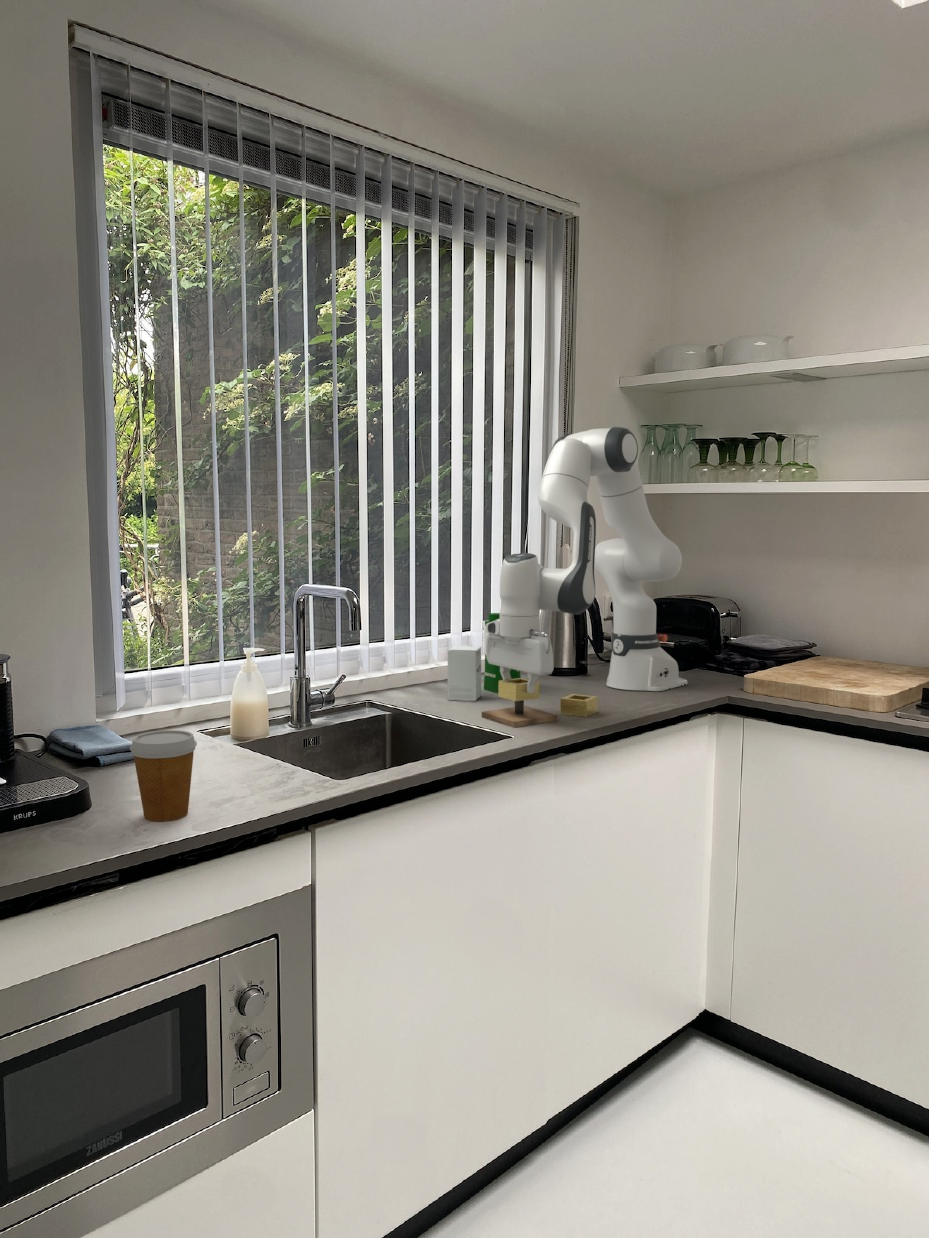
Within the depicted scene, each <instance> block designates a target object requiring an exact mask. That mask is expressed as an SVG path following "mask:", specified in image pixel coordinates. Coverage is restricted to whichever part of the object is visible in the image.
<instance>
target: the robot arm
mask: <svg viewBox="0 0 929 1238" xmlns="http://www.w3.org/2000/svg"><path fill="white" fill-rule="evenodd" d="M638 446H639V445H638V441H637V438H636V436H635V435H634V434H633V432H632V431H631V430H630V429H628V428H626V427H623V426H622V427H620V426H619V427H618V426H614V427H611V428H610V427H606V428H605V427H604V428H603V427H602V428H601V427H600V428H591V429H587V430H583V431H579V432H576V433H566V434H564V435H562V436H560V437H558V438H557V439H556V440H555V442H554V443H553V445H552V447H551V450H550V453H549V456H548V459H547V460H546V464H545V466H544V470H543V473H542V476H541V481H540V484H539V489H538V497H537V498H538V499H537V500H538V504H539V505H540V508H541V509H542V512H544V513H545V515H547V516H548V517H549V518H550V519H551V520H554V521H555V522H557V523H559V524H561V525H563V526H565V527H568V528H570V529H572V532H573V533H572V534H573V535H572V536H573V537H572V538H573V539H572V540H573V542H572V543H573V544H572V553H571V554H572V559H571V564H570V566H568V567H567V568H557V567H556V568H554V567H544V566H543V565H542V564H540V563H539V560H538V556H537V555H536V554H533V553H528V552H523V553H522V552H521V553H520V552H519V553H514V554H513V553H512V554H510V555H506V557H504V559H503V561H502V564H501V570H500V576H499V596H500V600H501V605H500V609H499V613H500V619H497V620H495V621H492V622H490V623H487V624H486V632H487V633H489V634H488V635H487V638H486V658H487V661H488V663H489V664H492V665H496V666H500V673H501V675H502V678H503V680H507V679H511V676H510V672H509V671H511V669H514V670H518V671H520V672H523V673H527V676H526V677H527V679H528V683H527V684H525V692H527V693H534V692H535V684H536V682H538V680H539V678H540V676H548V675H549V676H550V675H552V673H553V671H554V669H555V668H554V666H555V665H554V664H555V663H554V651H553V646H552V645H553V644H552V643H551V638H550V637H549V635H548V634H547V632H545V631H541V630H540V621H541V620H540V619H541V618H540V617H541V615H540V614H541V613H540V611H547V612H548V611H549V612H562V613H564V614H570V615H581V614H582V613H584V612H585V611H586V610H588V609H589V608H590V607H591V606H592V605H593V603H594V601H595V597H596V581H595V580H596V579H595V578H596V577H595V572H596V573H597V574H598V575H599V576H600V577H601V578H602V579H603V581H604V582H605V584H606V586H607V588H608V590H609V594H610V596H611V601H612V610H613V612H612V614H613V617H612V619H613V620H612V621H613V629H612V630H613V632H611V638H610V640H611V641H610V642H611V649H612V651H611V655H610V662H609V663H610V665H609V671H608V675H607V679H606V683H605V685H606V686H607V687H609V688H614V689H616V690H617V689H619V690H625V691H649V692H650V691H651V692H660V691H661V692H662V691H665V690H670V689H675V688H677V687H678V688H679V687H682V686H685V685H684V684H686V685H688V684H689V683H688V680H687V679H685V678H683V677H679V675H680V674H679V672H680V671H679V665H678V661H676V659H674V658H673V657H672V656H671V655H670V654H669V653H667V652H666V651H665V650H664V649H663V648H662V647H661V646H662V645H661V642H662V643H666V642H667V641H668V639H669V638H668V635H667V634H661V633H659V634H658V633H657V605H656V603H655V601H654V599H652V598H651V597H650V596H648V594H646V592H645V590H644V587H643V585H642V582H655V583H656V582H657V583H658V582H662V581H663V582H664V581H668V580H672V579H674V578H676V577H677V575H678V574H679V572H680V570H681V568H682V564H683V556H682V552H681V550H680V548H679V547H678V545H677V544H676V543H674V541H672V540H670V539H668V537H666V536H665V535H664V533H663V532H662V531H661V530H660V528H659V527H658V526H657V524H656V522H655V520H654V519H653V518H652V515H651V513H650V510H649V507H648V504H647V499H646V495H645V491H644V487H643V481H642V477H641V474H640V470H639V467H638V464H637V462H636V460H637V458H638V454H639V447H638ZM591 477H596V485H597V489H598V495H599V499H600V503H601V508H602V512H603V516H604V520H605V523H606V524H607V526H609V527H610V528H611V529H612V530H614V531H615V532H616V533H618V534H619V535H620V536H621V537H617V538H616V537H615V538H610V539H606V540H602V541H600V542H599V543H598V544H597V545H596V538H597V537H596V536H597V518H596V512H595V509H594V507H593V505H591V504H590V503H589V502H588V490H589V486H590V479H591ZM681 685H682V686H681ZM669 688H670V689H669Z"/></svg>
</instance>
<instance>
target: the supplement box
mask: <svg viewBox="0 0 929 1238" xmlns="http://www.w3.org/2000/svg"><path fill="white" fill-rule="evenodd" d="M481 696H482V646H479V645H477V646H476V645H475V646H473V645H453V646H452V647H450V648H448V649H447V699H446V700H448V701H462V702H476V701H477V700H478V699H479V698H480V697H481Z"/></svg>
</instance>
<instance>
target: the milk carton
mask: <svg viewBox="0 0 929 1238" xmlns="http://www.w3.org/2000/svg"><path fill="white" fill-rule="evenodd" d="M497 619H500V612H492V613H488V620H482V621H481V623H482V629H483V635H484V675H483V676H484V677H483V680H484V681H483V690H485V691H489V692H493V693H496V694H498V692H499V680H503V678H502V675H501V673H500V666H496V665H492V664H489V663H488V661H487V658H486V638H487V635H488V634H489V633H487V632H486V624H487V623H490V622H492V621H495V620H497ZM509 672H510V676H511V679H516V678H522V677H521V671H518V670H514V669H511V671H509Z"/></svg>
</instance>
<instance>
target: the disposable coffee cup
mask: <svg viewBox="0 0 929 1238" xmlns="http://www.w3.org/2000/svg"><path fill="white" fill-rule="evenodd" d="M197 744H198V742H197V740H195V736H194V733H193V732H190V731H186V730H178V729H177V730H176V729H169V730H167V729H165V730H155V731H149V732H144V733H140V734H137V735H136V736H134V737H133V738H132V743H131V745H130V746H129V750H130V751H131V755H133V759H134V760H133V761H134V765H135V772H136V776H137V777H136V778H137V783H138V788H139V795H140V799H141V800H140V801H141V805H142V811H143V818H144V819H146V820H147V821H151V822H168V821H169V822H170V821H174V820H178V819H181V818H183V817H184V818H185V817H186V816H187V815H189V806H190V805H189V804H190V795H191V783H192V776H193V775H192V773H193V763H194V762H193V761H194V755H195V754H194V753H195V750H196V747H197Z"/></svg>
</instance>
